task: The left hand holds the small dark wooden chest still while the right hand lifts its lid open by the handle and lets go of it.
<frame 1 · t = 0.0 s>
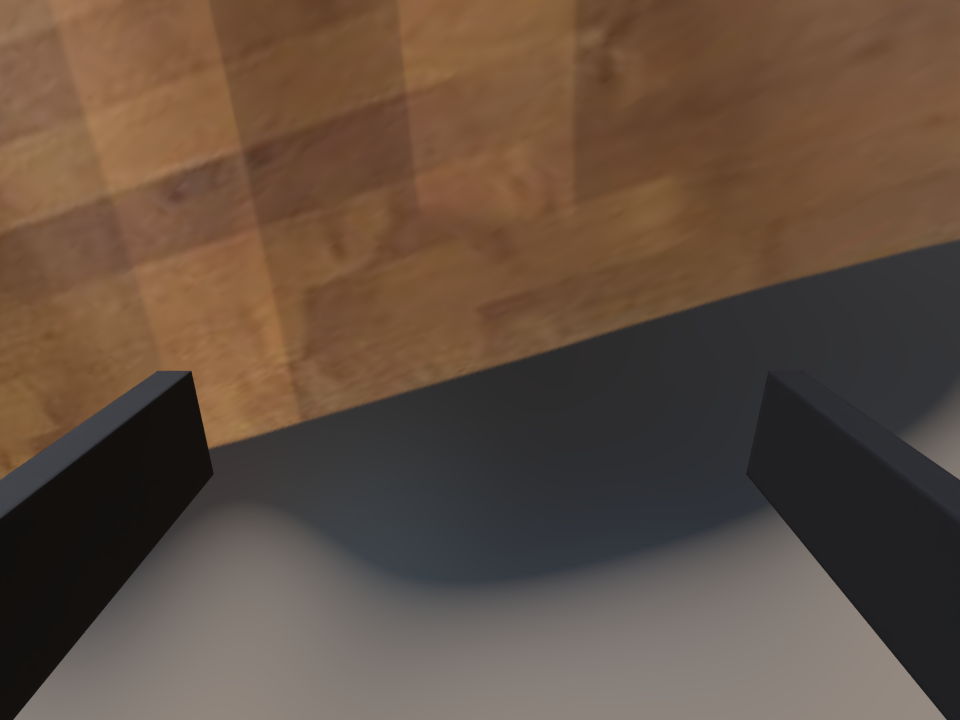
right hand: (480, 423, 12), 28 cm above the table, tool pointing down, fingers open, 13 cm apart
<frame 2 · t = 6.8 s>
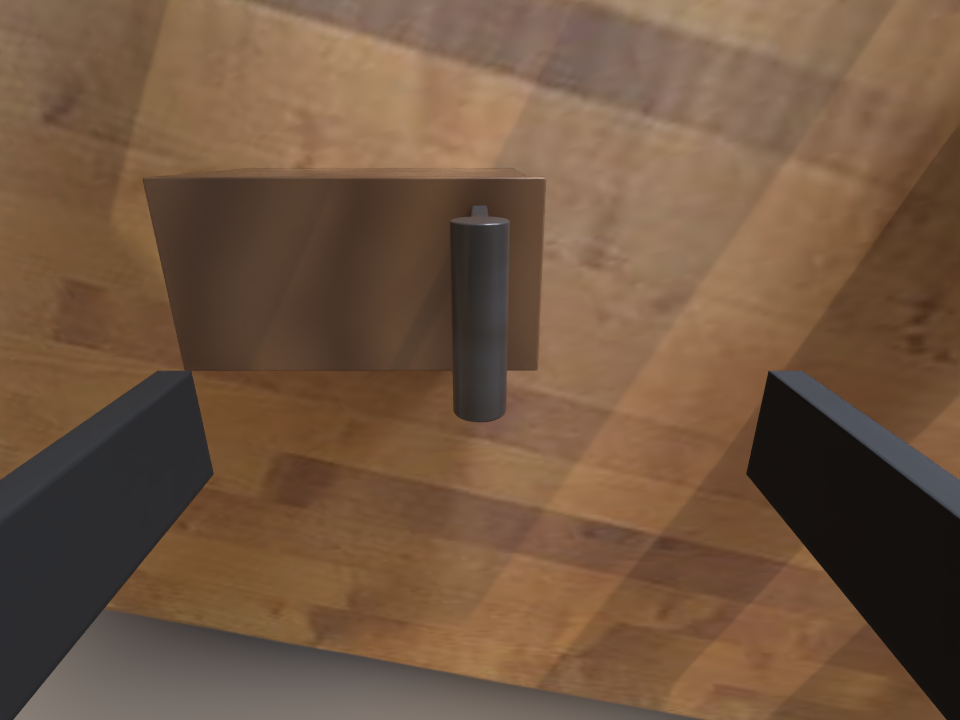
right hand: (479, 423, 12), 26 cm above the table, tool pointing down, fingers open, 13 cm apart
chest: (384, 242, 36), on the table
lid: (335, 299, 23), point 15 cm above the table, hinge at 0.0°
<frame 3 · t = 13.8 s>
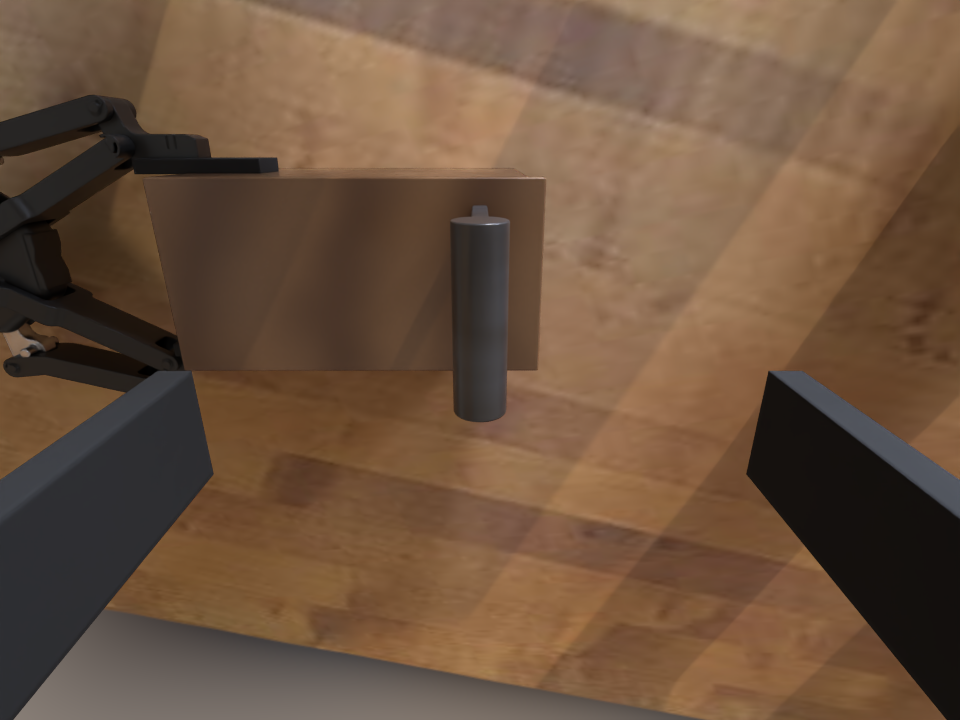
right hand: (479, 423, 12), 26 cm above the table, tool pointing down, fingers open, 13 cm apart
left hand: (281, 259, 31), fingers closed on chest, 9 cm apart
chest: (384, 242, 36), on the table, touching left hand
lid: (336, 299, 23), point 15 cm above the table, hinge at 0.0°
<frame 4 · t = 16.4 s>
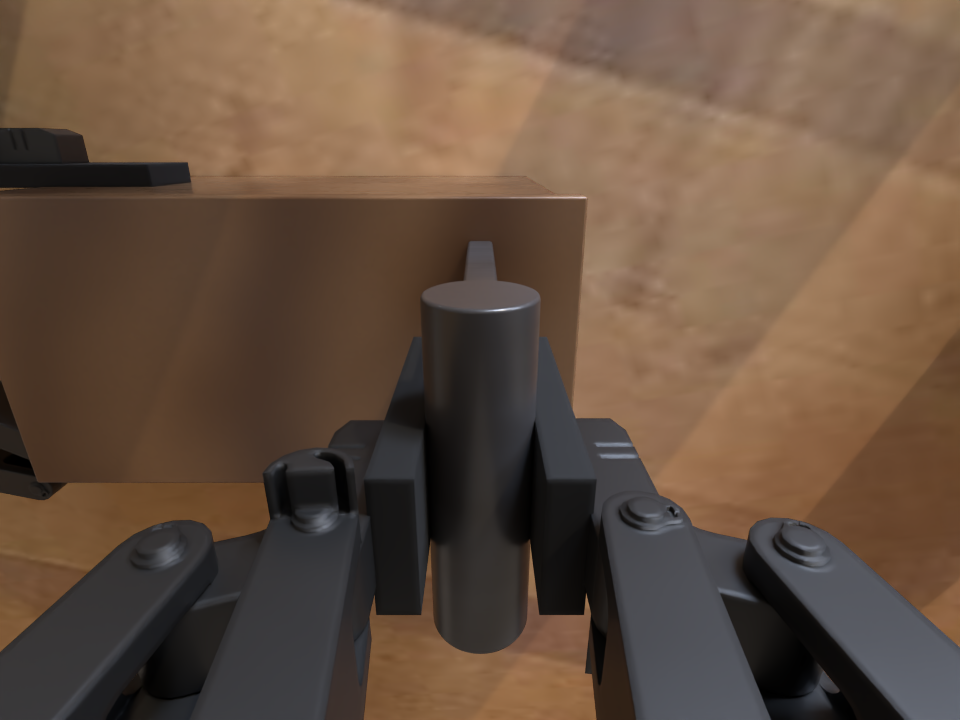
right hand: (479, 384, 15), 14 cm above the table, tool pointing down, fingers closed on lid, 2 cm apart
chest: (351, 274, 27), on the table, touching left hand
lid: (238, 402, 13), point 15 cm above the table, hinge at 0.3°, touching right hand
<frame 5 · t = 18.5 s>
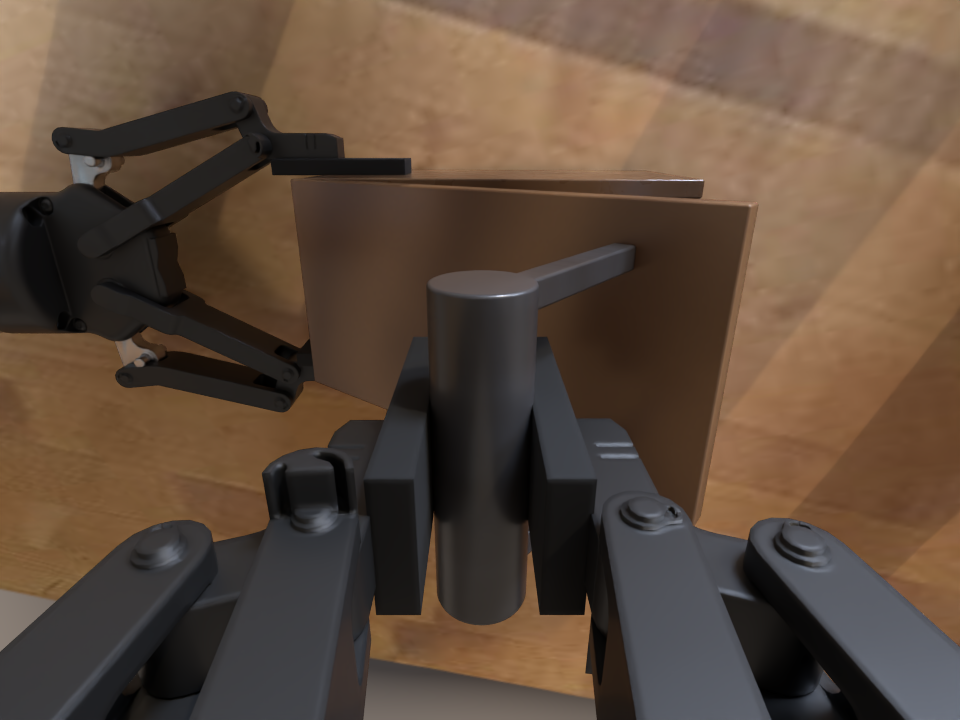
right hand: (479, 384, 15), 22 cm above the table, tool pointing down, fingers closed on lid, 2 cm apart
left hand: (412, 264, 29), fingers closed on chest, 9 cm apart
chest: (500, 247, 34), on the table, touching left hand
lid: (388, 349, 17), point 19 cm above the table, hinge at 34.7°, touching right hand
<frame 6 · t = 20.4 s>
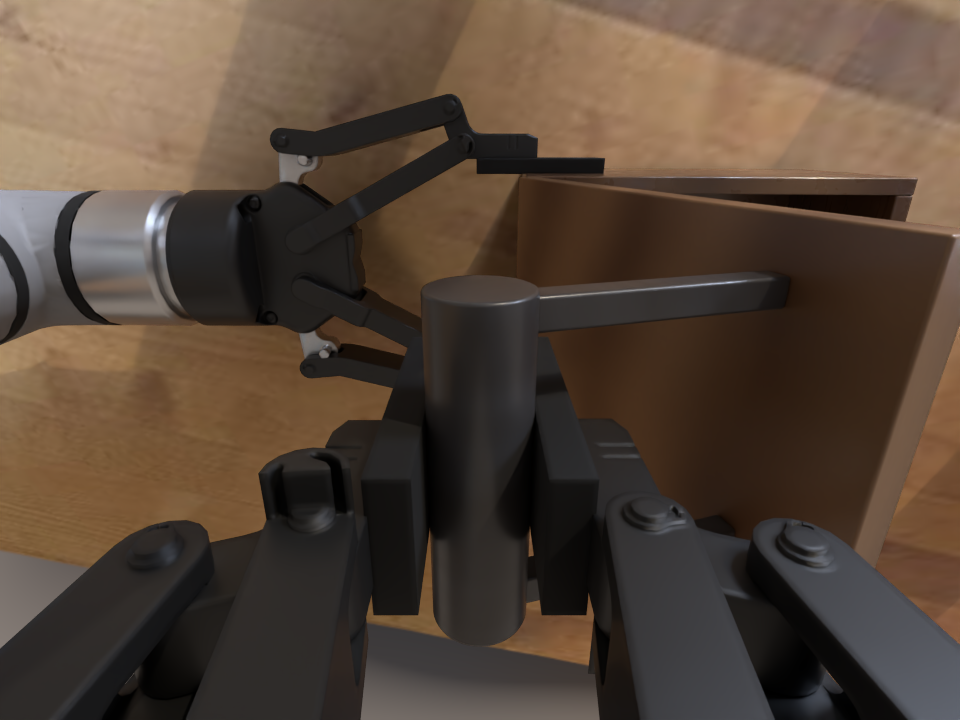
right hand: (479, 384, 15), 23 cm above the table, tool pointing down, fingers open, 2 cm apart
left hand: (591, 259, 30), fingers closed on chest, 9 cm apart
chest: (651, 243, 36), on the table, touching left hand
lid: (518, 349, 17), point 21 cm above the table, hinge at 69.8°
when the left hand's fingers open (6 cm above the table, at t = 24.6 s): chest stays where it is, on the table.
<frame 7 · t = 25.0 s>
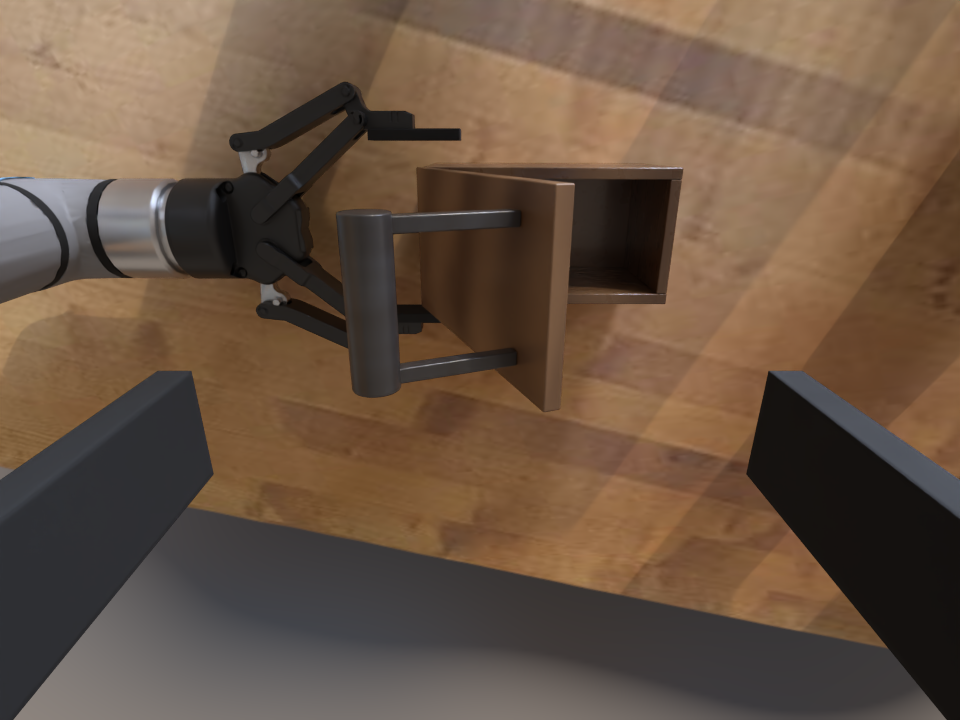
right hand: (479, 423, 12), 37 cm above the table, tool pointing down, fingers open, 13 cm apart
left hand: (462, 229, 41), fingers open, 13 cm apart
chest: (535, 220, 47), on the table
lid: (407, 269, 28), point 21 cm above the table, hinge at 67.4°
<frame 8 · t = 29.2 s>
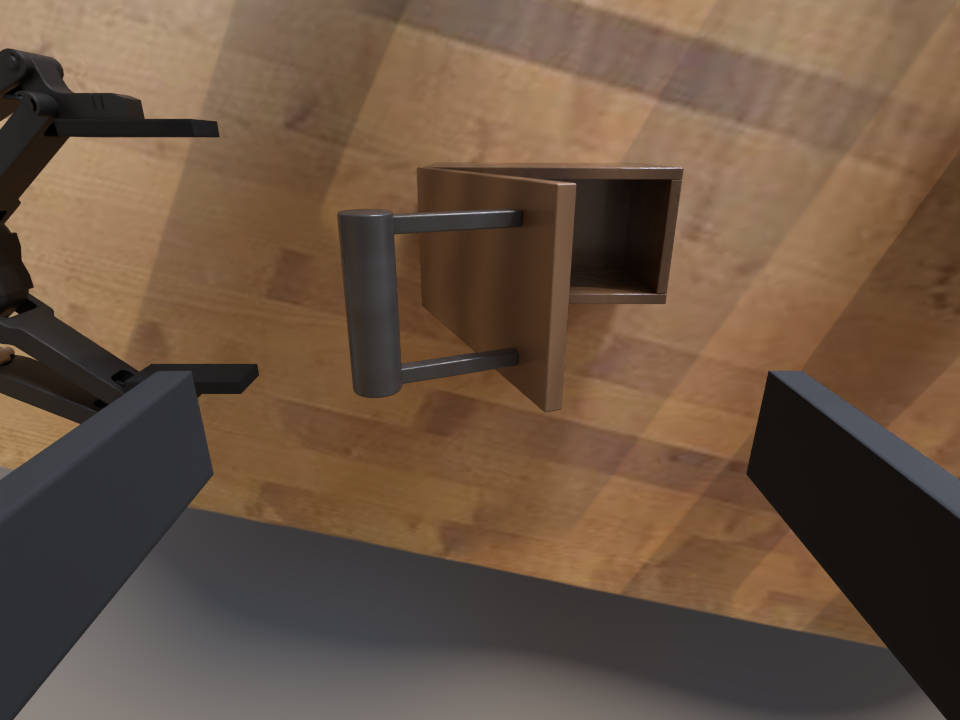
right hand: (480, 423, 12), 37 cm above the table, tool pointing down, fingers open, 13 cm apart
chest: (535, 220, 47), on the table
lid: (407, 269, 28), point 21 cm above the table, hinge at 67.4°
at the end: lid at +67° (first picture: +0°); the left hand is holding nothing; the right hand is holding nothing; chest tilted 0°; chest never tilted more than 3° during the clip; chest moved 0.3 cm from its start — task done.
